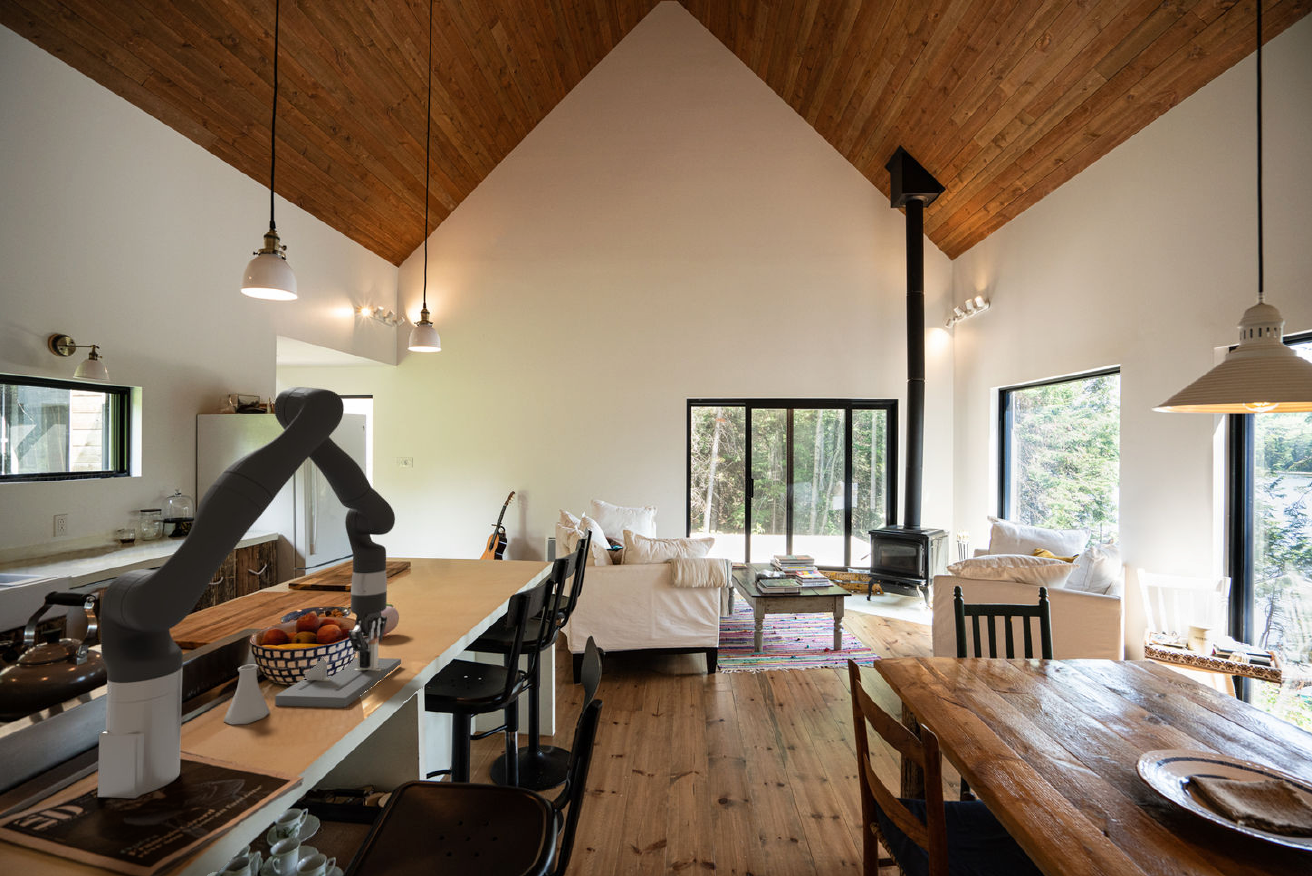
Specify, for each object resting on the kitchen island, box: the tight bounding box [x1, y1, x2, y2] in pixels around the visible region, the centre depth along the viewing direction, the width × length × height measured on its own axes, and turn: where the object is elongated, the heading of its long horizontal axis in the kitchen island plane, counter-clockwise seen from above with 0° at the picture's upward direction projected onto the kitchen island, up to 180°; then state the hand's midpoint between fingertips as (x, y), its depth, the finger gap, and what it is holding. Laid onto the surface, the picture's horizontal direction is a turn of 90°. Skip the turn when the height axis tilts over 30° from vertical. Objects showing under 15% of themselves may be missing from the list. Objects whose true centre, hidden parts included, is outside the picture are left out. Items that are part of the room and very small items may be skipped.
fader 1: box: [304, 656, 328, 680], centre depth 136 cm, size 2×4×7 cm, turn 87°
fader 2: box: [356, 637, 380, 670], centre depth 142 cm, size 2×4×7 cm, turn 86°
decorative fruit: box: [381, 603, 400, 636], centre depth 174 cm, size 9×8×10 cm
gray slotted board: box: [274, 657, 402, 708], centre depth 139 cm, size 24×15×2 cm, turn 176°
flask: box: [223, 663, 271, 725], centre depth 121 cm, size 7×7×10 cm
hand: (367, 665), depth 142 cm, fingers closed on fader 2, 2 cm apart
